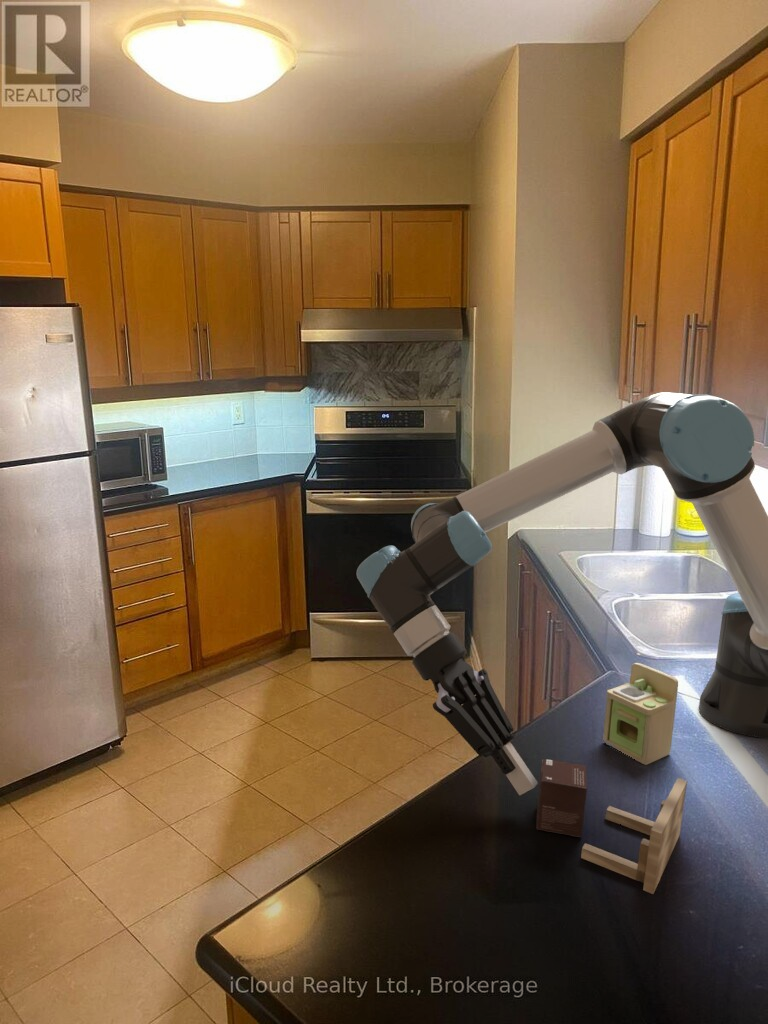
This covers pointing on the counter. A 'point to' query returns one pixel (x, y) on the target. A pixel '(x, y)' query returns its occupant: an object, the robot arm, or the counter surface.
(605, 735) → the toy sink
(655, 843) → the rack
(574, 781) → the box
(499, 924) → the counter surface
